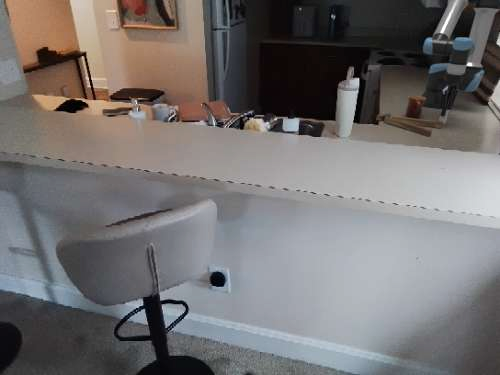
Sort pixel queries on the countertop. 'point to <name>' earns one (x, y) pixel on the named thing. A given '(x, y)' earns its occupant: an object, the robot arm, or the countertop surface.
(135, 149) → the countertop surface
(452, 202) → the countertop surface
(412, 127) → the wooden kitchen tongs
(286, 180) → the countertop surface
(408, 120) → the tongs jaw
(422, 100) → the mug
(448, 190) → the countertop surface
